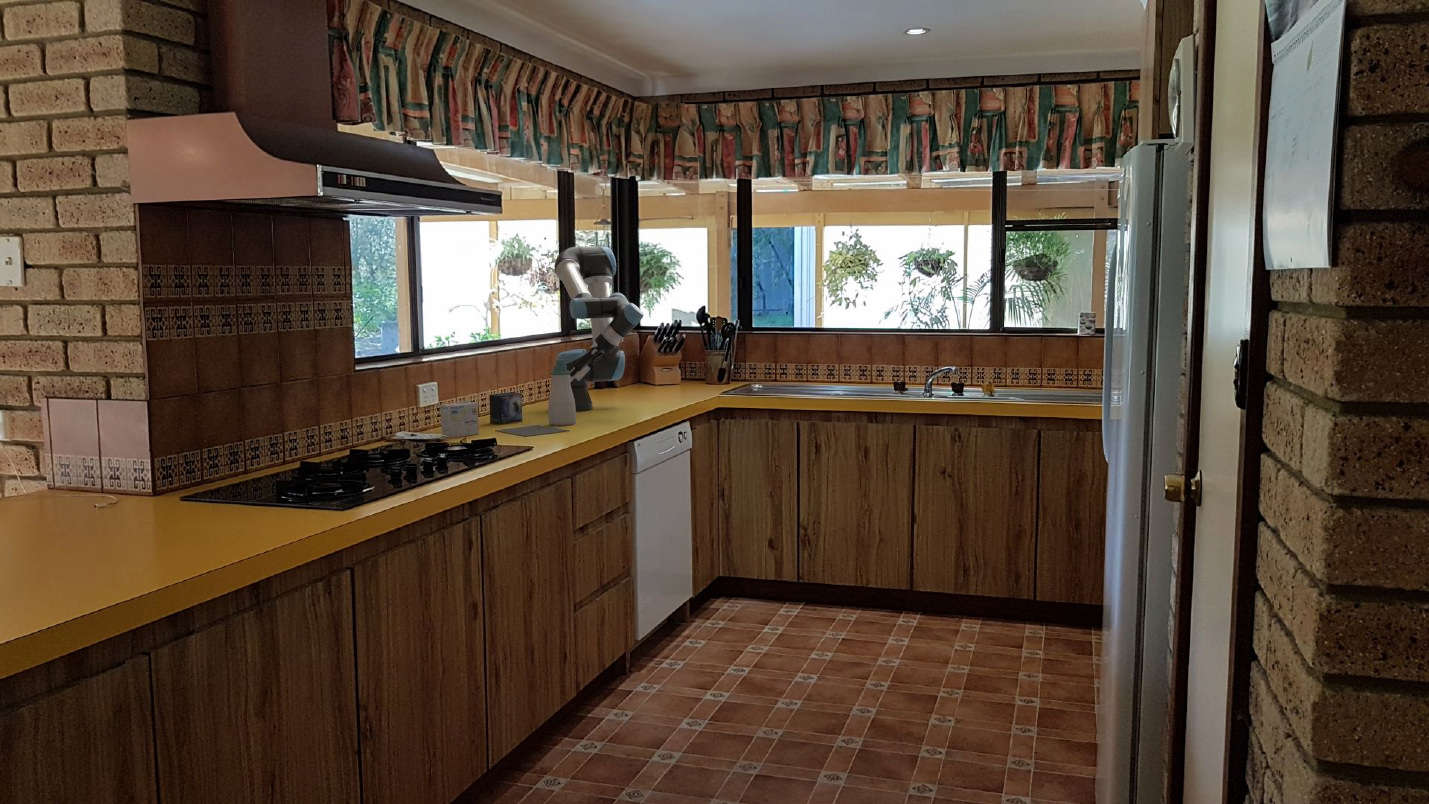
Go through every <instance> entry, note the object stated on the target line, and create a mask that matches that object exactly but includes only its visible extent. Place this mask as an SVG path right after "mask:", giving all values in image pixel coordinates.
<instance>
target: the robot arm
mask: <svg viewBox="0 0 1429 804" xmlns="http://www.w3.org/2000/svg"><path fill="white" fill-rule="evenodd" d="M553 268H554V272H555V275H556V277H557V279H559V280H560V281H561V282H562V284H563V285H564V288H565V289H566V292H567V294H568V296H569V299H570V301H569V313H570V317H571V318H572V319H574V320H575V319H577V320H579V319H580V320H584V319H586V320H589V319H590V325H591V336H592V338H591V339H592V345H591V346H590V347H589V352H587V349H586V348H577V349H570V350H566V351H562V352H560V353H558V354H557V355H556V360H560V359H563V360H564V359H571V361H564V365H567V370H569V371H570V372H571V373H570V385H571V389H572V393H573V396H574V399H575V408H576V412H583V411H584V412H585V411H590V410H593V407H594V406H593V402H592V398H591V396H590V393H589V389H588V383H593V382H595V383H596V382H606V381H607V382H611V381H618V380H620V379H621V378H623V375H624V372H625V366H626V355H625V351H623V350H620V345H619V344H620V343H623V342H624V339H625V338H626V337H627V336H628V335H629V334H630V333H631V332H632V330H633V329H634V328H636V327H637V325H638V324H640V322H641V321H642V320H643V318H644V312H643V311H642V310H641V308H639V307H638V306H637V305H636V304H634V303H633V302H630V301H629V300H628V299H627V297H626V296H625V295H624V294H623V293H621V292H614V293H611V291H610V283H611V282H612V281H613V277H614V276H615V275H616V271H617V263H616V257H615V255H614V253H613V250H612V249H611V248H610V247H607V246H600V245H599V246H571V247H568V248H566V249H564V250H562V251H561V252H560V253H559V254H558V255H557V257H556V258H555V261H554V265H553Z"/></svg>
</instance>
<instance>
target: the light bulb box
mask: <svg viewBox="0 0 1429 804" xmlns="http://www.w3.org/2000/svg"><path fill="white" fill-rule="evenodd" d="M439 408H440V421H441V422H440V423H441V424H440V425H441V436H442V435H445V436H447V437H446V438H450V439H453V438H460V437H468V436H474V435H475V436H476V435H479V434H480V431H479V413H478V409H479V408H478V402H475V401H474V402H473V401H464V402H463V401H462V402H453V403H444V404H440V405H439Z"/></svg>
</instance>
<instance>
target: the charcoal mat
mask: <svg viewBox="0 0 1429 804" xmlns="http://www.w3.org/2000/svg"><path fill="white" fill-rule="evenodd" d="M494 431H495V432H498V433H504V434H510V435H513V436H514V435H515V436H519V437H524V438H525V437H527V438H528V437H534V436H543V435H551V434H552V435H553V434H559V433H567V432H570V430H569V429H565V428H558V427H554V426H546V425H541V424H534V425H526V426H519V427H518V426H517V427H510V428H503V429H495V430H494Z"/></svg>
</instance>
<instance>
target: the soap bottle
mask: <svg viewBox="0 0 1429 804" xmlns="http://www.w3.org/2000/svg"><path fill="white" fill-rule="evenodd" d="M564 361H571V359H564V360H563V359H560V360H557V359H555V364H554V365H553V370H552V371H550V372H549V374H550V377H551V387H550V392H549V397H548V403H547V406H548V408H547V409H548V411H547V414H548V415H547V416H548V417H547V418H548V424H549V425H550V426H553V427H554V426H555V427H556V426H557V427H558V426H559V427H562V426H563V427H564V426H565V427H566V426H572V425H575V424H576V422H577V411H576V408H575V399H574V396H573V393H572V389H571V385H570V373H571V372H570V371H569V370H567V365H564Z"/></svg>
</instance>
